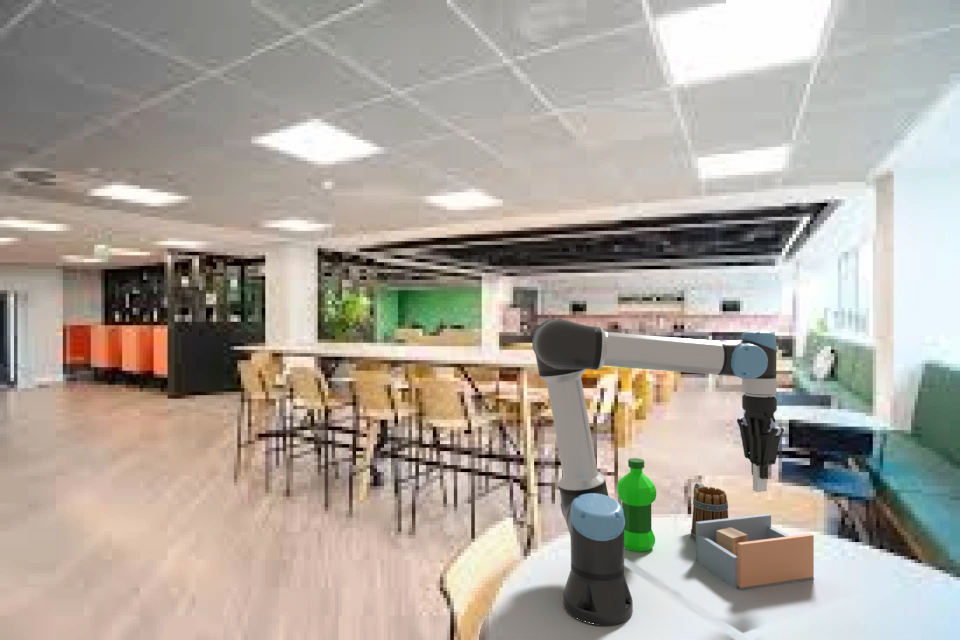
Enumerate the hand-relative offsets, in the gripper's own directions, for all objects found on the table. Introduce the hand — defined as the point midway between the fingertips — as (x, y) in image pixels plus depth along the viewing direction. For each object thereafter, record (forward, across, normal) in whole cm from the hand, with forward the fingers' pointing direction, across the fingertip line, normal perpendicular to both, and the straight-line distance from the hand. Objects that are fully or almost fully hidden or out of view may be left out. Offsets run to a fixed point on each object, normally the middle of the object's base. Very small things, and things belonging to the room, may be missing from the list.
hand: (759, 490), depth 130 cm
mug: (+22, +23, -2) cm, 32 cm away
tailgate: (+20, -5, 0) cm, 21 cm away
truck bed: (+22, +3, 0) cm, 22 cm away
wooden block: (+20, +4, +5) cm, 21 cm away
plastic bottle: (+22, +22, +21) cm, 37 cm away
